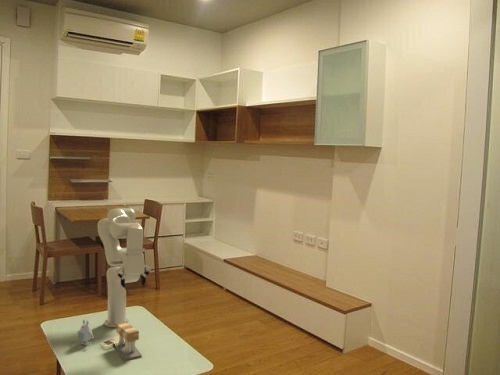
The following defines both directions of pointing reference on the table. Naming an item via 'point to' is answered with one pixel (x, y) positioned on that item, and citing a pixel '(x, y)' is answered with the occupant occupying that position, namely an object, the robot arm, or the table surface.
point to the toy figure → (85, 333)
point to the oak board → (127, 331)
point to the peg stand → (127, 349)
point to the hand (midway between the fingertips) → (133, 285)
